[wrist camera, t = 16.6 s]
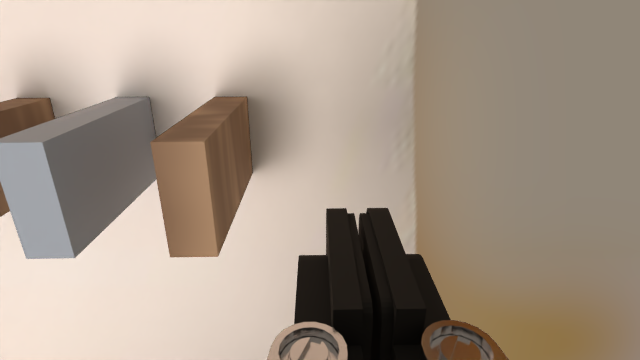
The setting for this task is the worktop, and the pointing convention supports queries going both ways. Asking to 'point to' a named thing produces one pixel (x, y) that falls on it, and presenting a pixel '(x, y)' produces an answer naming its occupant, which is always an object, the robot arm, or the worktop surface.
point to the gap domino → (77, 174)
